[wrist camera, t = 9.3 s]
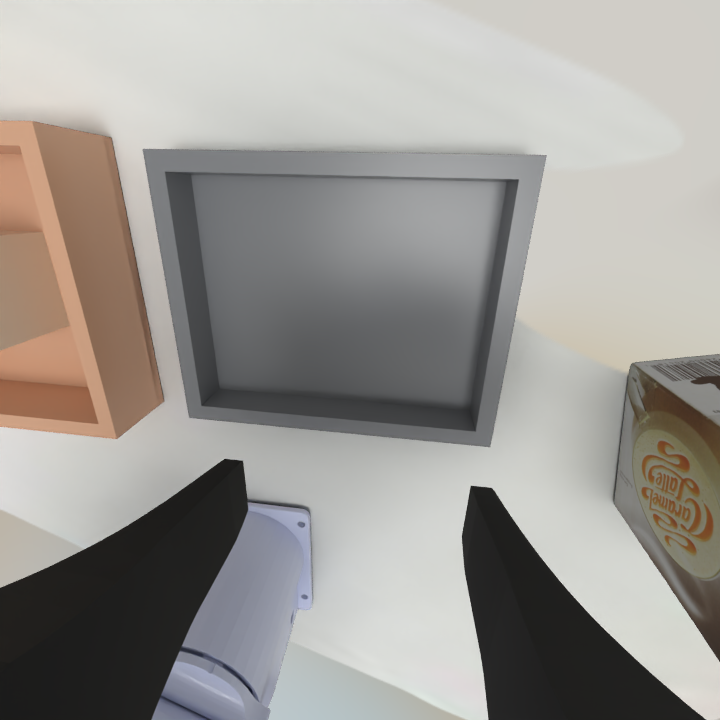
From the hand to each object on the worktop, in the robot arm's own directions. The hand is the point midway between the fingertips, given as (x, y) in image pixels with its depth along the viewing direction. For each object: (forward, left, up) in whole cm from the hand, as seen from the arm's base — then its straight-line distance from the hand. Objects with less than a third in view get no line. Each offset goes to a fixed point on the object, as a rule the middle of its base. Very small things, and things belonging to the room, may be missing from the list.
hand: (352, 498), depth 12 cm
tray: (+4, +2, -9) cm, 10 cm away
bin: (+4, +20, -9) cm, 22 cm away
